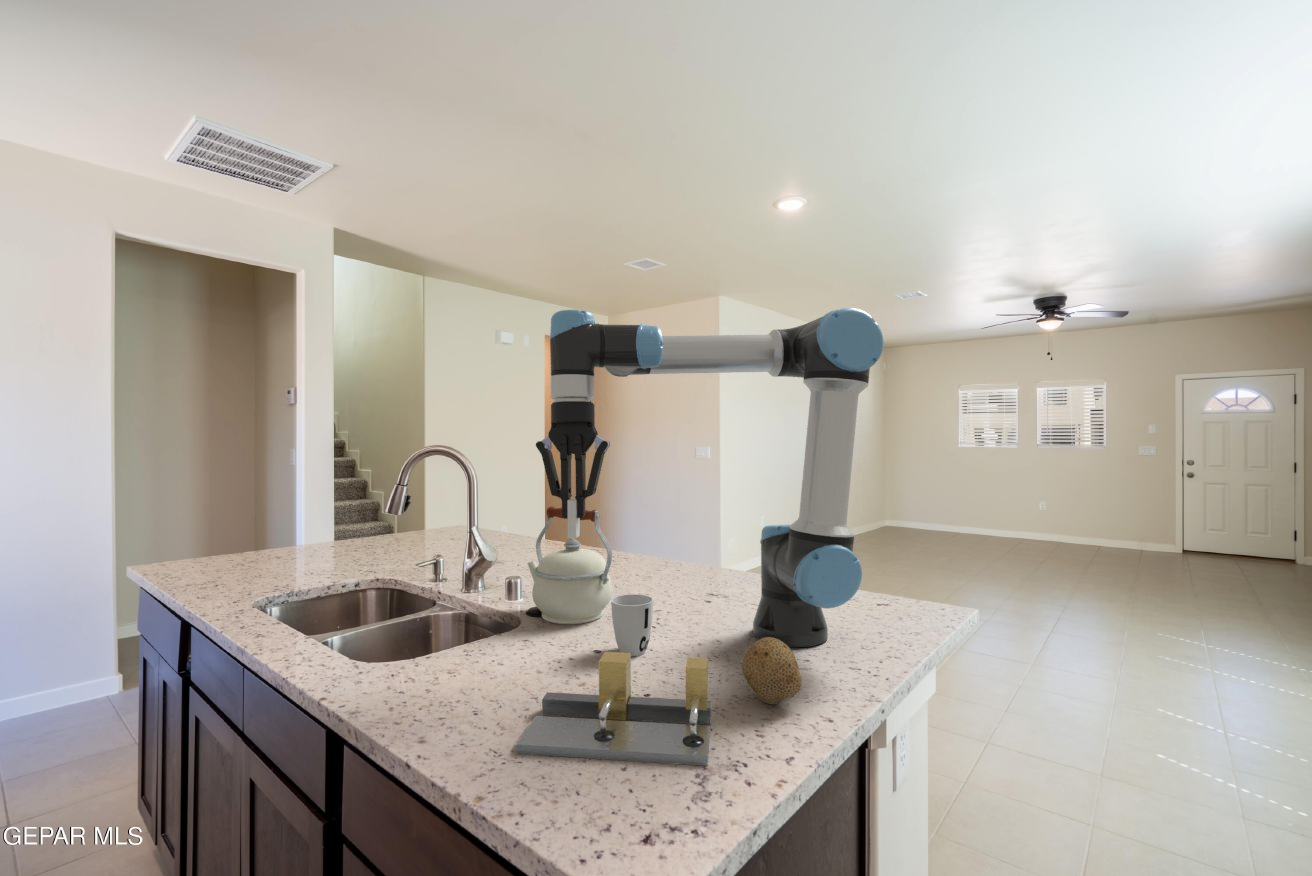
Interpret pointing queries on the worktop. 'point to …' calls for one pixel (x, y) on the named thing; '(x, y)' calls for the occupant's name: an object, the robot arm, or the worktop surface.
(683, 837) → the worktop surface
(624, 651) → the cup
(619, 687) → the block
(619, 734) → the bolt plate
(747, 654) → the natural sponge
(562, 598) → the kettle
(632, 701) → the rail
